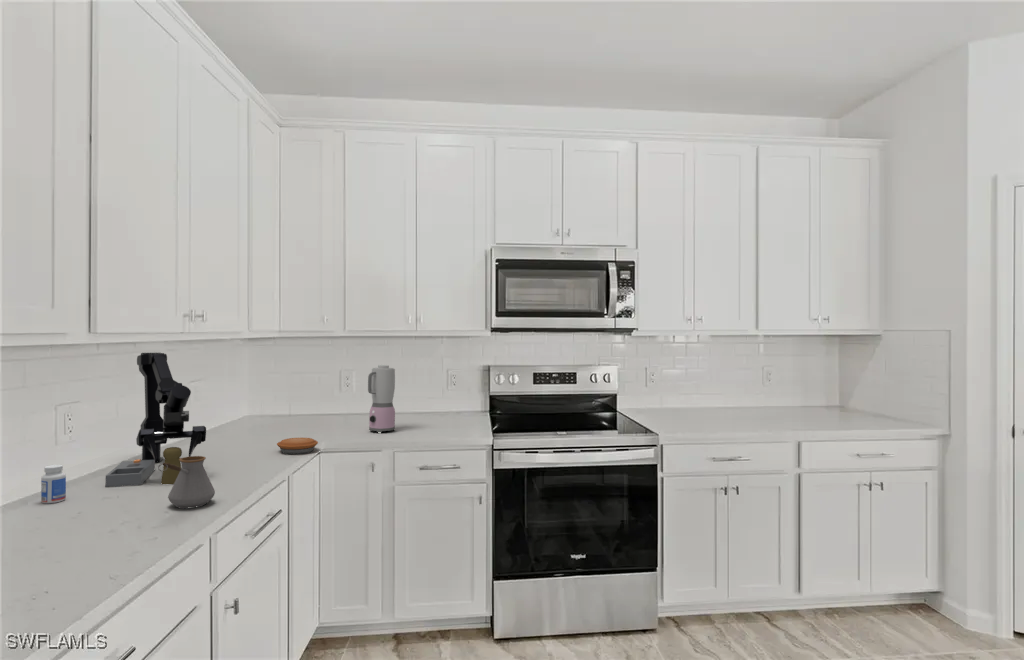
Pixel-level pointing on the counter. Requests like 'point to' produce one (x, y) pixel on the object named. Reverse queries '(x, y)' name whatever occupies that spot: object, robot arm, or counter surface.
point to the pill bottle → (53, 484)
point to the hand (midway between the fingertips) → (172, 457)
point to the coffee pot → (190, 483)
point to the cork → (173, 458)
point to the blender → (382, 398)
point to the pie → (297, 445)
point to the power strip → (130, 473)
